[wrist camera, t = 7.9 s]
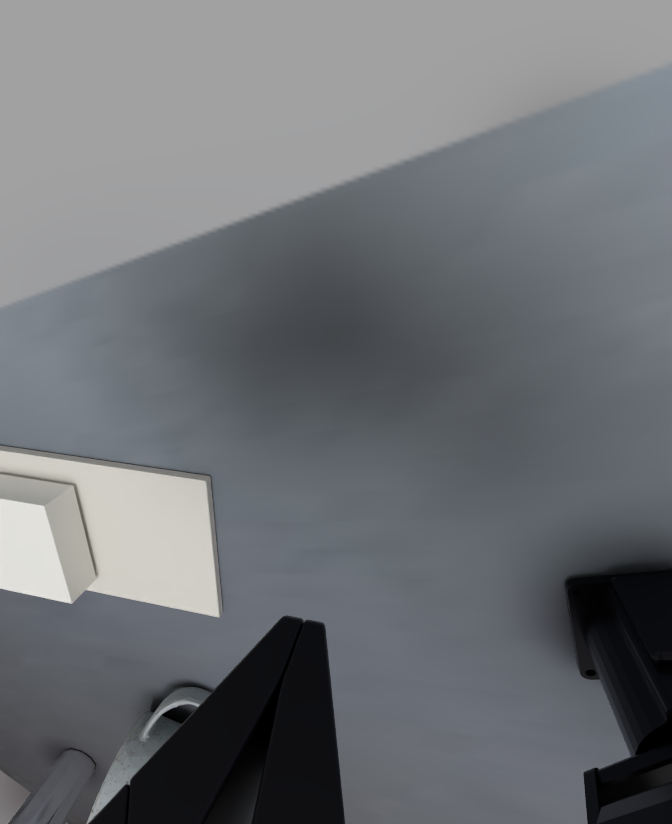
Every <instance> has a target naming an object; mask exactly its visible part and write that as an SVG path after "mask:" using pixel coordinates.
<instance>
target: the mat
mask: <svg viewBox="0 0 672 824" xmlns="http://www.w3.org/2000/svg"><path fill="white" fill-rule="evenodd" d="M0 474H3V475H10V476H16V477H22V478H28V479H35V480H41V481H47V482H53V483H60V484H66V485H72V486H74V490H75V494H76V498H77V503H78V507H79V511H80V515H81V519H82V523H83V527H84V531H85V535H86V539H87V543H88V547H89V551H90V555H91V559H92V563H93V567H94V571H95V575H96V580H95V581H94V582H93V583H92V584H91V585H90V586H89V587H88V588H87V589H86V590H89V591H94V592H99V593H103V594H108V595H113V596H118V597H123V598H128V599H133V600H137V601H142V602H147V603H152V604H157V605H162V606H167V607H171V608H176V609H181V610H186V611H191V612H196V613H201V614H205V615H210V616H215V617H220V615H221V613H222V612H223V607H222V596H221V585H220V574H219V564H218V553H217V542H216V531H215V521H214V510H213V499H212V488H211V478H210V476H206V475H199V474H192V473H185V472H179V471H172V470H165V469H158V468H151V467H144V466H138V465H131V464H124V463H117V462H110V461H103V460H97V459H90V458H83V457H76V456H69V455H62V454H56V453H49V452H42V451H35V450H28V449H21V448H15V447H8V446H1V445H0Z"/></svg>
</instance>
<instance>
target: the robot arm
mask: <svg viewBox="0 0 672 824" xmlns="http://www.w3.org/2000/svg"><path fill="white" fill-rule="evenodd" d="M575 589H579V590H575ZM565 592H566V598H567V604H568V610H569V616H570V622H571V628H572V634H573V641H574V647H575V653H576V659H577V665H578V668H579V671H580V674H581V676H582V677H584V678H586V679H591V680H594V679H600V680H601V683H602V685H603V688H604V690H605V693H606V695H607V698H608V700H609V703H610V705H611V708H612V710H613V713H614V715H615V718H616V720H617V722H618V725H619V727H620V730H621V732H622V735H623V737H624V740H625V742H626V745H627V747H628V750H629V752H630V755H631V757H629V758H627V759H624V760H622V761H619V762H617V763H614V764H612V765H609V766H606V767H604V768H601V769H598V768H593V769H591V770H588V771H586V772H584V785H585V797H586V808H587V820H588V824H672V570H667V571H656V572H644V573H632V574H621V575H609V576H597V577H586V578H575V579H570V580H569V581H567V582H566V584H565ZM88 824H345V818H344V808H343V798H342V788H341V778H340V768H339V758H338V748H337V738H336V728H335V718H334V708H333V698H332V689H331V679H330V669H329V659H328V649H327V639H326V629H325V625H324V623H322V622H317V621H312V620H305V622H304V620H303V619H301V618H297V617H292V616H283V617H282V618H281V619H280V620H279V621H278V622H277V623H276V624H275V625H274V626H273V627H272V628H271V629H270V631H269V632H268V633H267V634H266V635H265V636H264V637H263V638H262V639H261V640H260V641H259V642H258V643H257V644H256V646H255V647H254V648H253V649H252V650H251V651H250V652H249V653H248V654H247V655H246V656H245V657H244V658H243V659H242V660H241V662H240V663H239V664H238V665H237V666H236V667H235V668H234V669H233V670H232V671H231V672H230V673H229V674H228V675H227V676H226V678H225V679H224V680H223V681H222V682H221V683H220V684H219V685H218V686H217V687H216V688H215V689H214V690H213V691H212V692H211V694H210V695H209V696H208V697H207V698H206V699H205V700H204V701H203V702H202V703H201V704H200V705H199V706H198V707H197V708H196V710H195V711H194V712H193V713H192V714H191V715H190V716H189V717H188V718H187V719H186V720H185V721H184V722H183V723H182V724H181V726H180V727H179V728H178V729H177V730H176V731H175V732H174V733H173V734H172V735H171V736H170V737H169V738H168V739H167V740H166V742H165V743H164V744H163V745H162V746H161V747H160V748H159V749H158V750H157V751H156V752H155V753H154V754H153V755H152V757H151V758H150V759H149V760H148V761H147V762H146V763H145V764H144V765H143V766H142V767H141V768H140V769H139V770H138V771H137V773H136V774H135V775H134V776H133V777H132V778H131V779H130V785H129V784H125V785H124V786H123V787H122V788H121V789H120V790H119V791H118V792H117V794H116V795H115V796H114V797H113V798H112V799H111V800H110V801H109V802H108V803H107V804H106V805H105V806H104V808H103V809H102V810H101V811H100V812H99V813H98V814H97V815H96V816H95V817H94V818H93V819H92V820H91V821H90V822H89V823H88Z"/></svg>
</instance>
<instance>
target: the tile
mask: <svg viewBox="0 0 672 824" xmlns="http://www.w3.org/2000/svg"><path fill="white" fill-rule="evenodd" d="M95 580H96V575H95V571H94V567H93V563H92V559H91V555H90V551H89V547H88V543H87V539H86V535H85V531H84V527H83V523H82V519H81V515H80V511H79V507H78V503H77V498H76V494H75V490H74V486H72V485H66V484H60V483H53V482H47V481H41V480H35V479H28V478H22V477H16V476H10V475H3V474H0V588H1V589H5V590H10V591H15V592H19V593H24V594H29V595H33V596H38V597H43V598H47V599H52V600H57V601H62V602H66V603H71V604H72V603H73V602H74V601H75V600H76V599H77V598H78V597H79V596H80V595H81V594H82V593H83V592H84V591H85V590H86V589H87V588H88V587H89V586H90V585H91V584H92V583H93V582H94V581H95Z"/></svg>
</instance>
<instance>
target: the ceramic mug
mask: <svg viewBox="0 0 672 824" xmlns="http://www.w3.org/2000/svg"><path fill="white" fill-rule="evenodd" d="M210 694H211V692H209V691H207V690H204V689H202V688H198V687H186V688H182V689H179V690H177V691H174V692H173V693H171V694H170V695H169V696H168V697H166V698H165V699H164V700H163V701H162V703H161V704H160V705H159V706H158V708H157V709H156V711H155V712H151V711H148V712H146V713H144V714H143V716H142V717H141V718H140V719H139V720H138V721H137V723H136V724H135V726H134V727H133V729H132V730H131V732H130V733H129V735H128V736H127V738H126V740H125V741H124V743H123V745H122V747H121V748H120V750H119V752H118V754H117V756H116V758H115V760H114V761H113V763H112V765H111V767H110V769H109V771H108V774H107V776H106V778H105V780H104V782H103V784H102V786H101V789H100V792H99V793H98V795H97V798H96V800H95V803H94V805H93V808H92V811H91V814H90V816H89V819H88V821H87V824H88V823H89V822H90V821H91V820H92V819H93V818H94V817H95V816H96V815H97V814H98V813H99V812H100V811H101V810H102V809H103V808H104V806H105V805H106V804H107V803H108V802H109V801H110V800H111V799H112V798H113V797H114V796H115V795H116V794H117V792H118V791H119V790H120V789H121V788H122V787H123V786H124V785H125V784H129V785H130V779H131V778H132V777H133V776H134V775H135V774H136V773H137V771H138V770H139V769H140V768H141V767H142V766H143V765H144V764H145V763H146V762H147V761H148V760H149V759H150V758H151V757H152V755H153V754H154V753H155V752H156V751H157V750H158V749H159V748H160V747H161V746H162V745H163V744H164V743H165V742H166V740H167V739H168V738H169V737H170V736H171V735H172V734H173V733H174V732H175V731H176V730H177V729H178V728H179V727H180V726H181V723H178V722H176V721H174V720H171V719H169V718H166V717H164V716H162V714H163V713H165V712H166V711H168V710H170V709H172V708H175V707H177V706H179V705H185V704H191V705H195V706H196V707H198V706H199V705H200V704H201V703H202V702H203V701H204V700H205V699H206V698H207V697H208V696H209V695H210Z"/></svg>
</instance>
